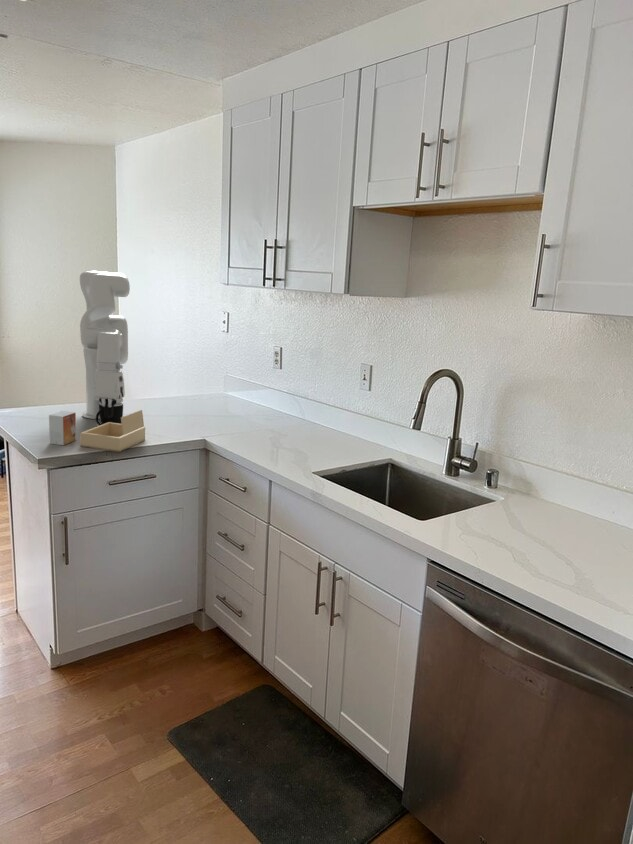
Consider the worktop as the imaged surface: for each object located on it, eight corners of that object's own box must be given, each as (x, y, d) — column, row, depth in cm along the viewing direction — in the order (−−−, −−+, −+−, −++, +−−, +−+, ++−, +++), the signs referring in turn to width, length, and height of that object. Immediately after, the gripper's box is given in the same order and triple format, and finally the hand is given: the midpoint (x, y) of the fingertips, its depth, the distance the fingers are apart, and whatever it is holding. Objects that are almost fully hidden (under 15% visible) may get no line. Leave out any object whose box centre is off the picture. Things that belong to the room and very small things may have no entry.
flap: (140, 409, 228) (142, 409, 228) (142, 426, 229) (144, 426, 229) (120, 417, 215) (121, 417, 215) (122, 434, 216) (124, 434, 216)
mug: (111, 424, 250) (111, 400, 248) (128, 428, 247) (128, 403, 244) (88, 430, 240) (87, 404, 238) (105, 434, 236) (104, 408, 234)
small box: (63, 445, 218) (62, 416, 216) (49, 443, 219) (48, 414, 217) (76, 440, 226) (76, 412, 223) (62, 438, 227) (62, 410, 224)
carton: (108, 434, 236) (108, 422, 235) (145, 440, 233) (145, 427, 231) (80, 446, 219) (80, 432, 217) (119, 452, 215) (119, 438, 214)
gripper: (133, 367, 222) (132, 417, 226) (95, 363, 225) (96, 412, 229) (122, 370, 214) (121, 421, 219) (83, 365, 218) (84, 416, 222)
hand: (108, 416), depth 224 cm, fingers closed
